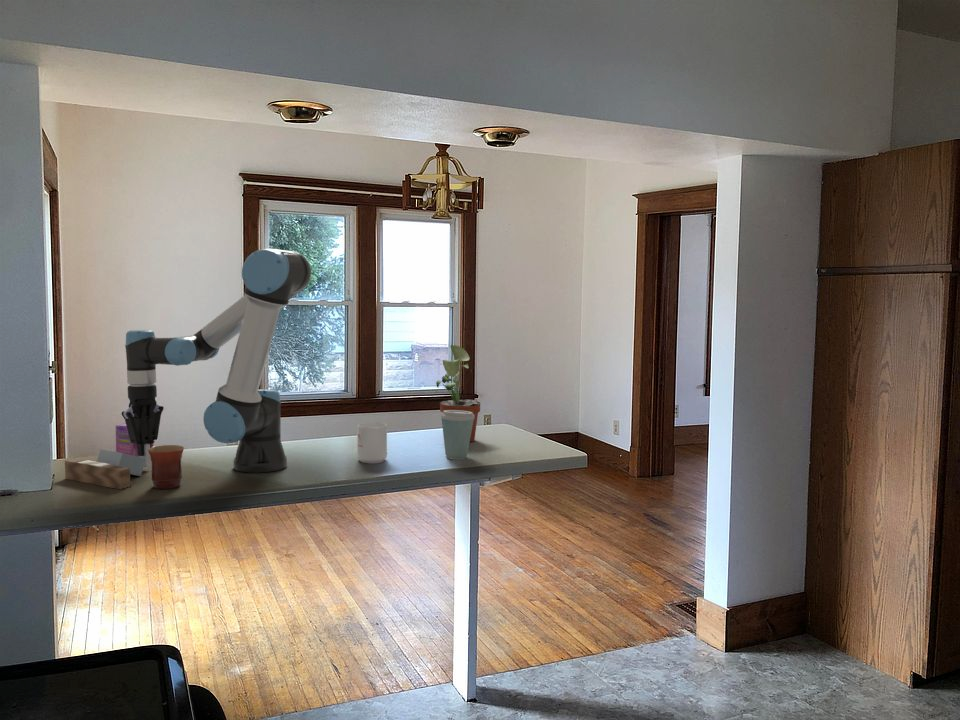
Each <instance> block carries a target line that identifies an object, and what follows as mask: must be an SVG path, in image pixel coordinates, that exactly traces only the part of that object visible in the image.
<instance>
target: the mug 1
mask: <svg viewBox="0 0 960 720" xmlns="http://www.w3.org/2000/svg"><path fill="white" fill-rule="evenodd" d="M184 450H185V447H184V446H182V445H178V444H166V445H165V444H163V445H157V446H156V445H155V446H154V447H152V448H150V449H148V452H149V454H150V457H151V484H152V487H153V488H155V489H157V490H173V489H177V488H178V487H180V485H182V481H183V480H182V478H183V470H182V469H183V468H182V467H183V466H182V459H183V458H182V456H183V453H184Z"/></svg>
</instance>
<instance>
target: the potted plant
mask: <svg viewBox="0 0 960 720" xmlns="http://www.w3.org/2000/svg"><path fill="white" fill-rule="evenodd" d="M450 349H451V351H452V355H453V358H454V360H449V359H448V360H447V359H443V360H442V365H443V367H444V371H445V372H446V373H445V375H443V376H442V377H441V380H439V379H438V380H437V381H436V382H435V385H436V387H437V388H438V389H439V386H440V384H442V385H443V387H444V388H445V389H446V390H447V391H448V393H449V394H450V396H451V400H449V399H448V400H443V401H440V402H439V408H440V409H439V412H441V413H443V411H444V410H461V411H469V412H472V413H473V414H474V416H475V418H474V420H473V426H472V431H471V437H470V442H469V443H471V442H475V440H476V430H477V424H478V418H479V413H480V412H481V402H480V401H477V400H474V399H460V391H459V389H460V388H459V387H460V379H461V375H462V369H463V367H464V368H465V369H469V368H470V366H469V362H468V361H470V359H471V358H470V355H469V354H468V352H467V350H465V349H464V348H463V347H461V346H459V345H456V344H455V345H453V344H451V345H450ZM460 362H466V363H465V364H464V363H460ZM450 377H451V378H450Z"/></svg>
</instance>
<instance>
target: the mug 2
mask: <svg viewBox="0 0 960 720" xmlns="http://www.w3.org/2000/svg"><path fill="white" fill-rule="evenodd" d="M387 432H388V425H387V423H385V422H384V423H383V422H375V421H374V422H373V421H372V422H371V421H370V422H369V421H368V422H363V423H359V424H357V459H358V460H359V461H360V462H361V463H364V464H380V463H383V462H385V460H386V459H387V457H388V455H387V454H388V452H387V451H388V449H387V448H388V433H387Z"/></svg>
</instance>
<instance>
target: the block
mask: <svg viewBox="0 0 960 720" xmlns="http://www.w3.org/2000/svg"><path fill="white" fill-rule="evenodd" d="M97 456H98V457H97V459H96V462H102V463H107V464H111V465H115V466H121V467H126V468H130V476H131V475H132V476H136V477H142V473H143V470H144V468H145V467H144V464H145V460H146V458H141V457H137V456H133V455H129V454H124V453H119V452H116V451H112V450H106V449H100V450H99V452H98V455H97Z"/></svg>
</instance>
